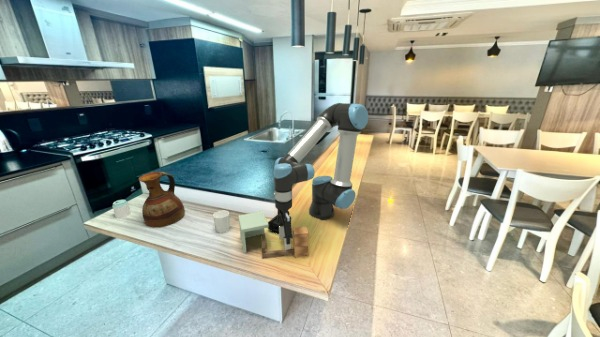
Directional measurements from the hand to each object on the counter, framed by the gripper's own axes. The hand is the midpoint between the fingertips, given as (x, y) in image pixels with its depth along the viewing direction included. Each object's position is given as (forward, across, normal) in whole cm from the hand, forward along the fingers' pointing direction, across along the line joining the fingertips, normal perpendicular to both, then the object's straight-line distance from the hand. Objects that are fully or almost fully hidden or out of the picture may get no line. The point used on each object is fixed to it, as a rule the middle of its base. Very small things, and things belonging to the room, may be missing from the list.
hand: (284, 243), depth 107 cm
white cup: (+2, -25, -26) cm, 37 cm away
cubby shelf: (+2, -9, -13) cm, 16 cm away
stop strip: (+2, -10, +5) cm, 11 cm away
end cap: (+2, -17, +1) cm, 17 cm away
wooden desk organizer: (+3, +6, +6) cm, 9 cm away
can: (+2, -57, -79) cm, 98 cm away
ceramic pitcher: (+2, -47, -56) cm, 73 cm away
